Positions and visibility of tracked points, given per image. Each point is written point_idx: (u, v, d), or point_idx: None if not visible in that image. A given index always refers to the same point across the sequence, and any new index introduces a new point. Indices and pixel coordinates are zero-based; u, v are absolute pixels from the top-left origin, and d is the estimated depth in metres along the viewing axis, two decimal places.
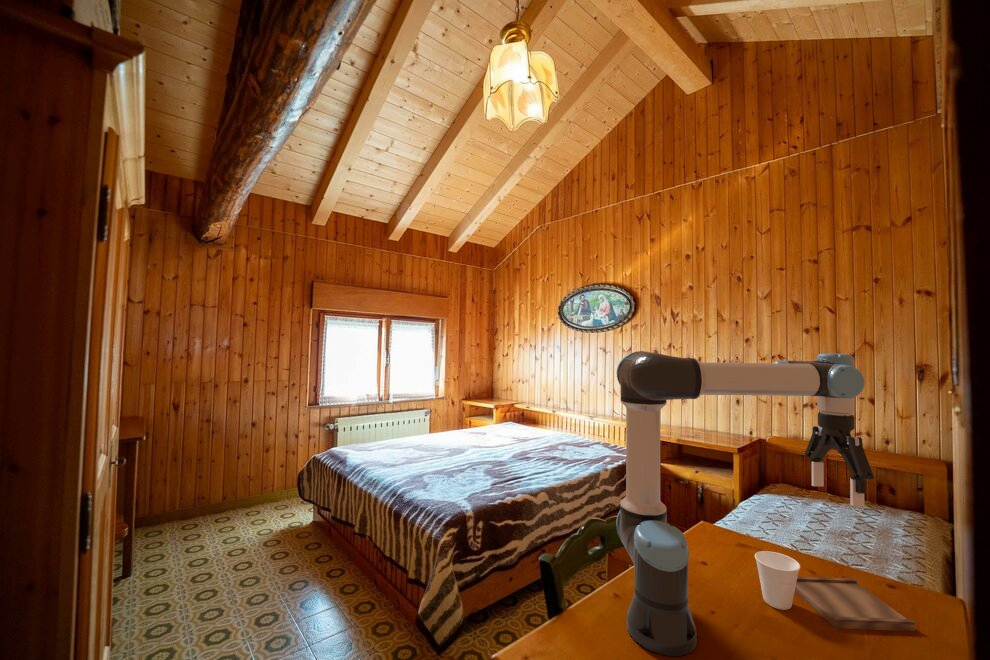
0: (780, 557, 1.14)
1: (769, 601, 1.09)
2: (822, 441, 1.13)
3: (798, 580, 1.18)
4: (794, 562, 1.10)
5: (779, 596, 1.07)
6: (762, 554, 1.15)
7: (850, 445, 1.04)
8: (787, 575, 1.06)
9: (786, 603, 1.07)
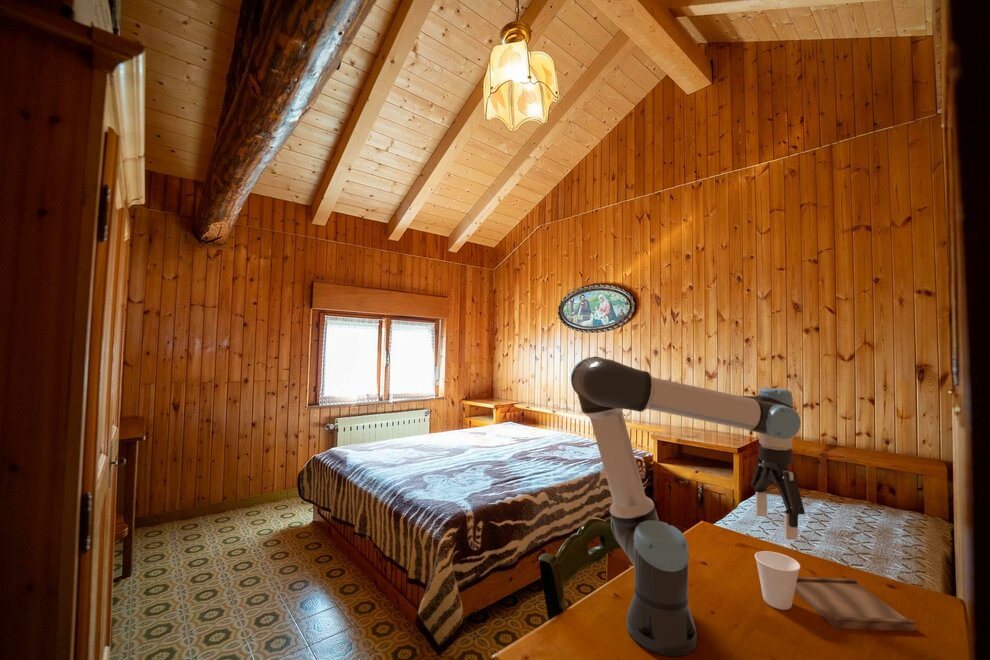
0: (780, 557, 1.14)
1: (769, 601, 1.09)
2: (763, 473, 1.16)
3: (798, 580, 1.18)
4: (794, 562, 1.10)
5: (779, 596, 1.07)
6: (762, 554, 1.15)
7: (785, 480, 1.07)
8: (787, 575, 1.06)
9: (786, 603, 1.07)
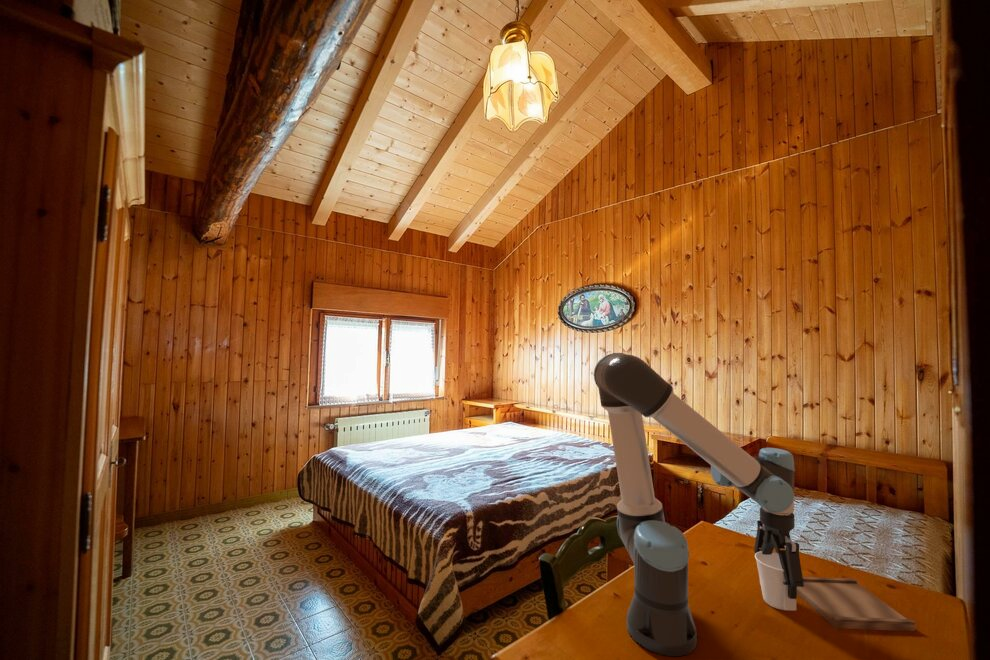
0: None
1: (769, 601, 1.09)
2: (765, 537, 1.13)
3: None
4: None
5: (779, 596, 1.07)
6: (762, 554, 1.15)
7: (787, 550, 1.04)
8: None
9: None
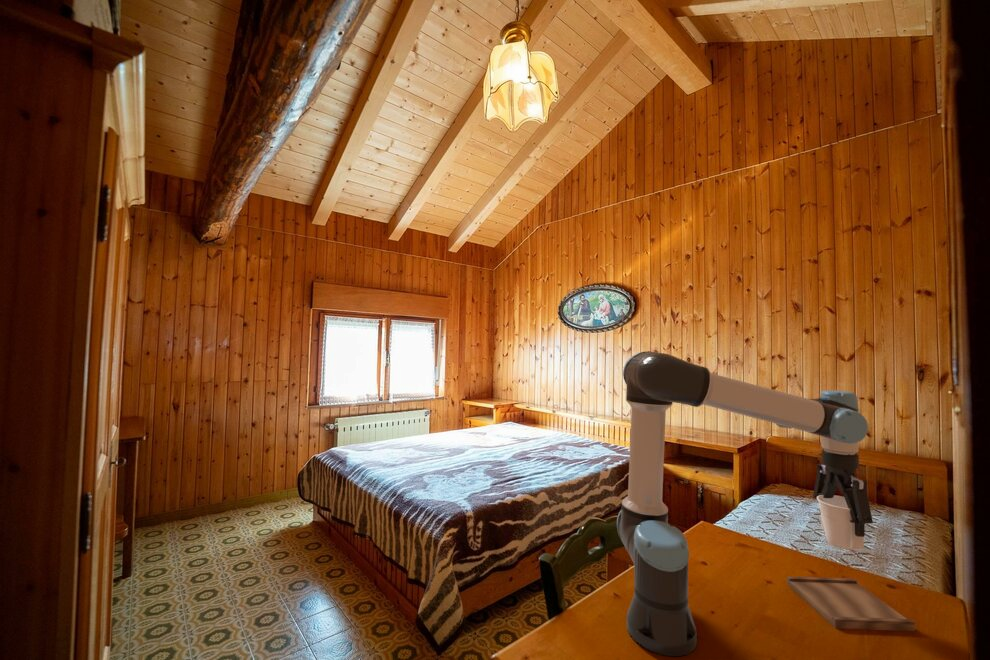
0: (842, 500, 1.13)
1: (834, 542, 1.08)
2: (827, 480, 1.12)
3: (798, 580, 1.18)
4: None
5: (845, 535, 1.06)
6: None
7: (854, 488, 1.04)
8: None
9: None
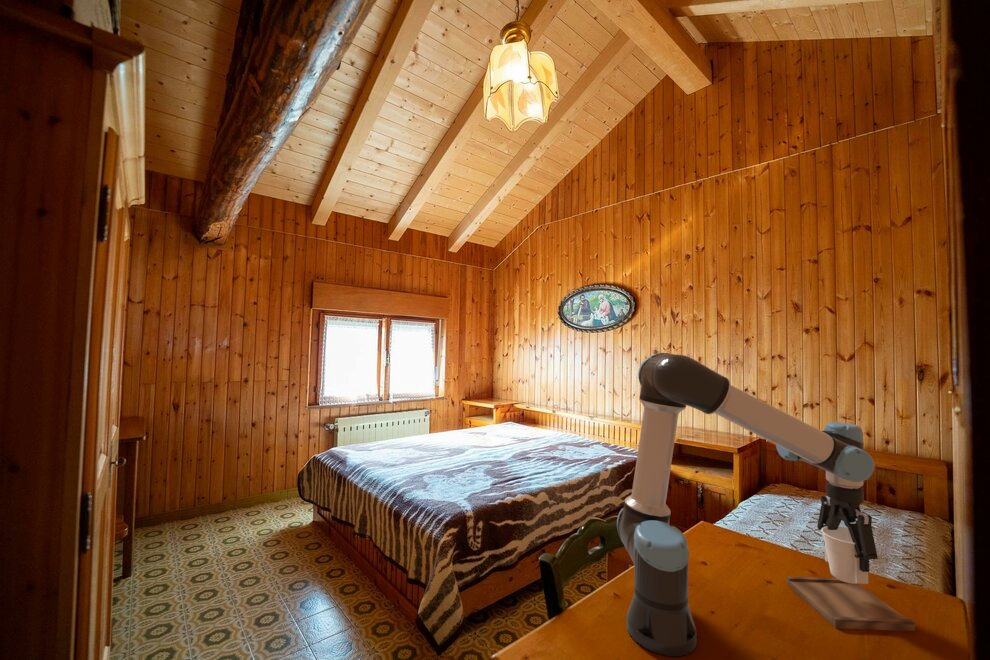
0: (846, 532, 1.13)
1: (838, 575, 1.08)
2: (832, 512, 1.12)
3: (798, 580, 1.18)
4: None
5: (849, 570, 1.06)
6: None
7: (859, 523, 1.04)
8: None
9: None
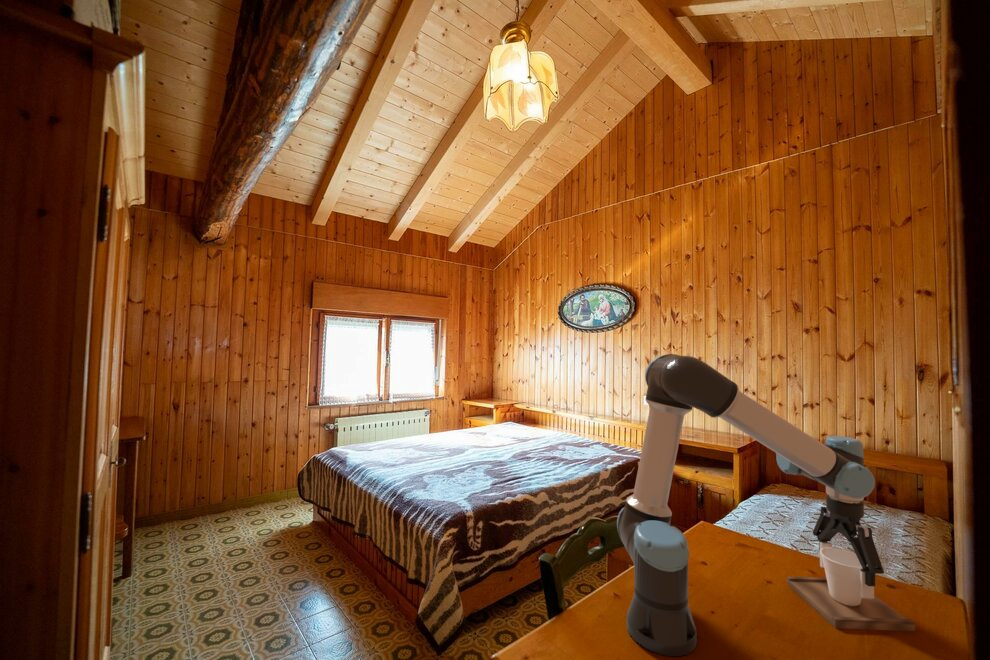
0: (845, 553, 1.13)
1: (837, 597, 1.08)
2: (831, 525, 1.12)
3: (798, 580, 1.18)
4: None
5: (848, 592, 1.06)
6: (827, 550, 1.14)
7: (860, 536, 1.03)
8: (857, 571, 1.05)
9: (856, 599, 1.06)
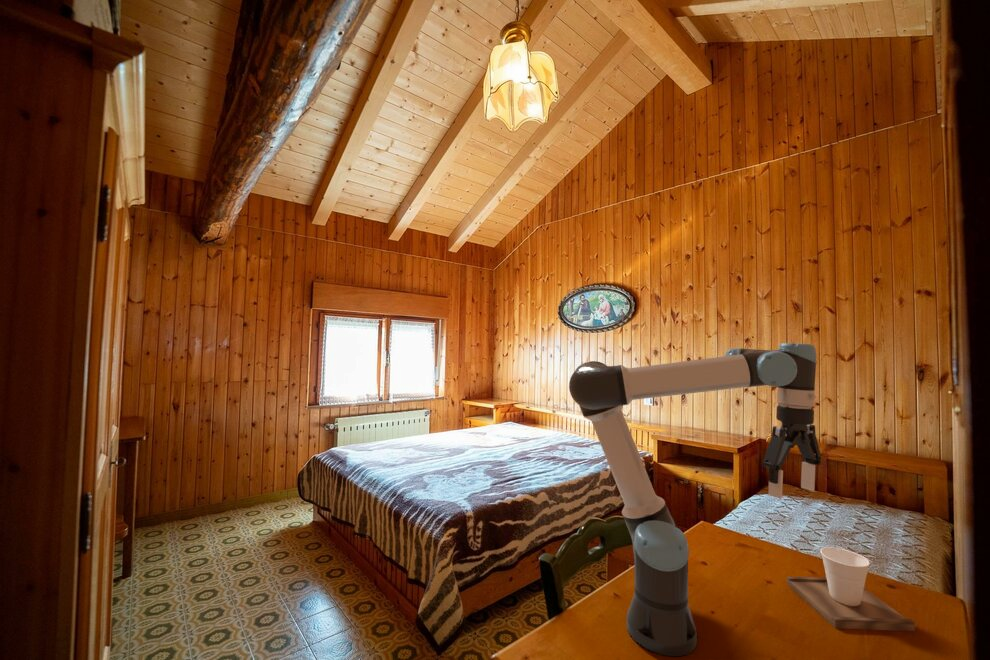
0: (845, 553, 1.13)
1: (837, 597, 1.08)
2: None
3: (798, 580, 1.18)
4: (862, 558, 1.10)
5: (848, 592, 1.06)
6: (827, 550, 1.14)
7: None
8: (857, 571, 1.05)
9: (856, 599, 1.06)
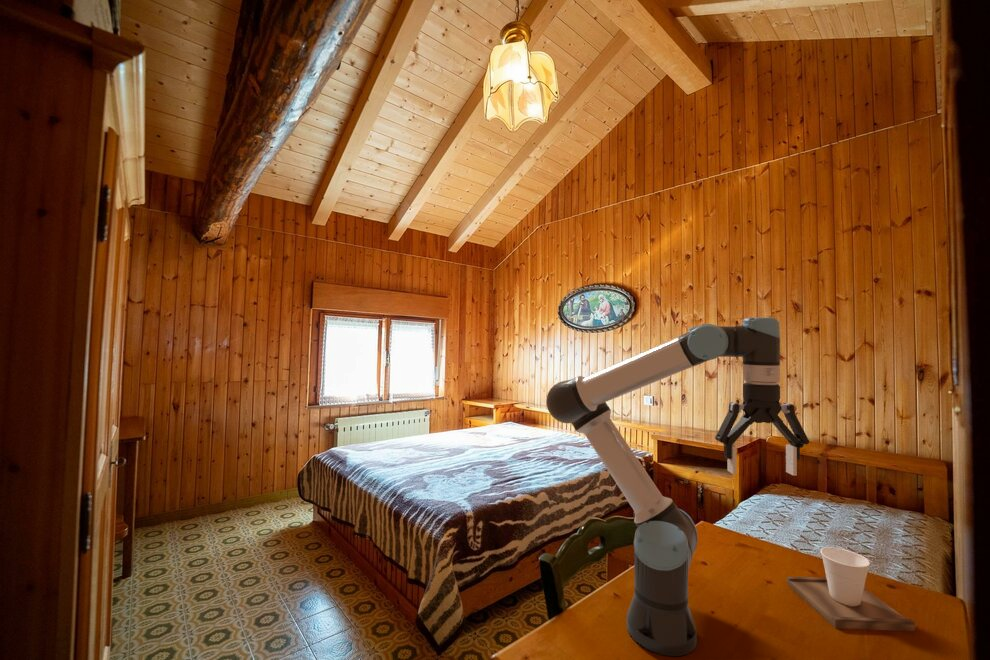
0: (846, 553, 1.13)
1: (837, 597, 1.08)
2: None
3: (798, 580, 1.18)
4: (862, 558, 1.10)
5: (848, 592, 1.06)
6: (827, 550, 1.14)
7: None
8: (857, 571, 1.05)
9: (856, 599, 1.06)
